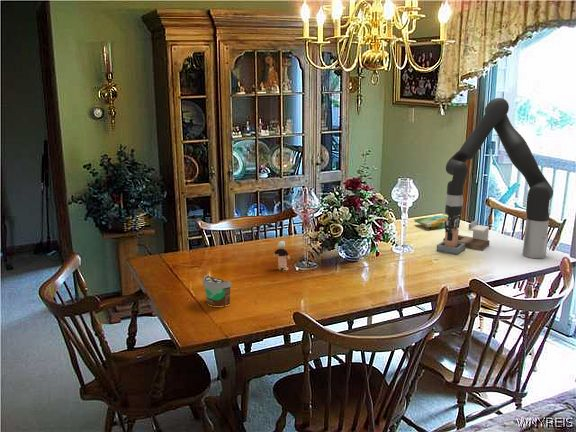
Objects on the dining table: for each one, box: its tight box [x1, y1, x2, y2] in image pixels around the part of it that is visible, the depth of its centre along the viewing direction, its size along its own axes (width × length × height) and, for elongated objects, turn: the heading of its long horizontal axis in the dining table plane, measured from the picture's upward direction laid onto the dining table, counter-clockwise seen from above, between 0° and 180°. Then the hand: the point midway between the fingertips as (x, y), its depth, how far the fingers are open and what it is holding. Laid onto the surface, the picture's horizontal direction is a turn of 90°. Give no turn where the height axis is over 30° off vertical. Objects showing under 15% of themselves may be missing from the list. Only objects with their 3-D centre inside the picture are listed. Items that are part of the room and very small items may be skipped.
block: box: [444, 228, 460, 248], centre depth 259 cm, size 4×4×8 cm
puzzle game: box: [413, 214, 448, 230], centre depth 299 cm, size 12×5×20 cm
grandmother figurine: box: [272, 240, 291, 271], centre depth 237 cm, size 8×4×13 cm, turn 74°
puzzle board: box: [442, 234, 491, 252], centre depth 268 cm, size 19×10×2 cm, turn 53°
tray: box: [435, 240, 466, 256], centre depth 260 cm, size 10×10×3 cm
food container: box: [202, 273, 232, 306], centre depth 202 cm, size 12×6×10 cm, turn 52°
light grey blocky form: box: [467, 220, 490, 241], centre depth 264 cm, size 7×8×9 cm
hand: (451, 239), depth 259 cm, fingers closed on block, 4 cm apart
